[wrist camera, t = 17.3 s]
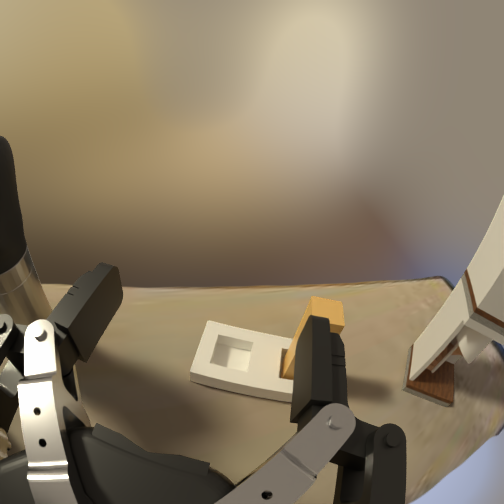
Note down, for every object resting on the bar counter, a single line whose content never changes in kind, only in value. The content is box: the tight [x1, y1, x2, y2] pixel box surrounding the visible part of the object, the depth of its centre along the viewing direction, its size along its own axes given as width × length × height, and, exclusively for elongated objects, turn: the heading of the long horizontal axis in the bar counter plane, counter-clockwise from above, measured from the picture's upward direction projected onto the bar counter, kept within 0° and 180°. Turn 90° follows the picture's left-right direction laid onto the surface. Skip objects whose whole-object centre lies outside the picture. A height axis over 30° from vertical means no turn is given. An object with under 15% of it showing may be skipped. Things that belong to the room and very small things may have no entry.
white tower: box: [402, 196, 504, 407], centre depth 31 cm, size 11×11×35 cm
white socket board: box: [190, 320, 293, 402], centre depth 39 cm, size 20×10×3 cm, turn 81°
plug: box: [281, 296, 345, 380], centre depth 35 cm, size 4×4×15 cm
